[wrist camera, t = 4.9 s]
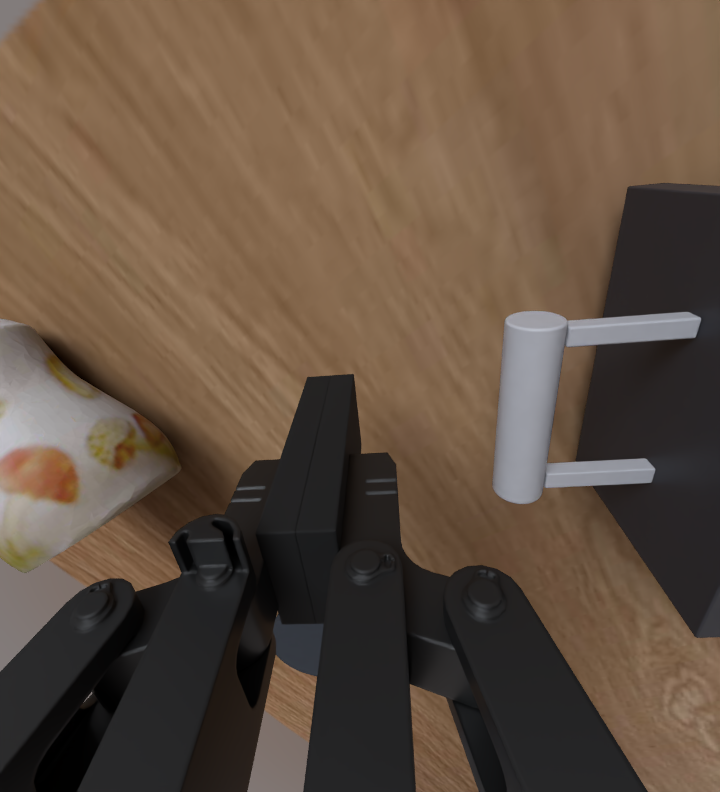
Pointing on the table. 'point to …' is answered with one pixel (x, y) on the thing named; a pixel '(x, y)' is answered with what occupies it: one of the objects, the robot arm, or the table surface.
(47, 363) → the mug
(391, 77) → the table surface
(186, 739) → the robot arm
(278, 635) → the coaster
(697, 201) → the drawer
